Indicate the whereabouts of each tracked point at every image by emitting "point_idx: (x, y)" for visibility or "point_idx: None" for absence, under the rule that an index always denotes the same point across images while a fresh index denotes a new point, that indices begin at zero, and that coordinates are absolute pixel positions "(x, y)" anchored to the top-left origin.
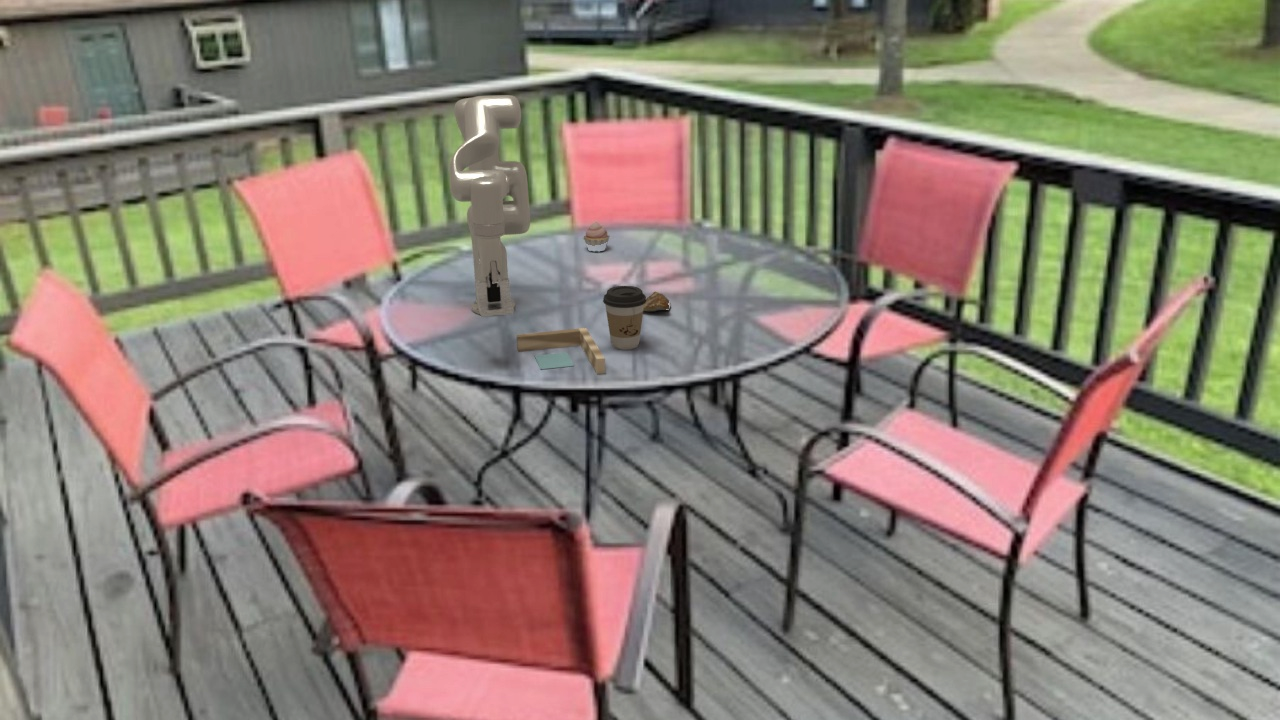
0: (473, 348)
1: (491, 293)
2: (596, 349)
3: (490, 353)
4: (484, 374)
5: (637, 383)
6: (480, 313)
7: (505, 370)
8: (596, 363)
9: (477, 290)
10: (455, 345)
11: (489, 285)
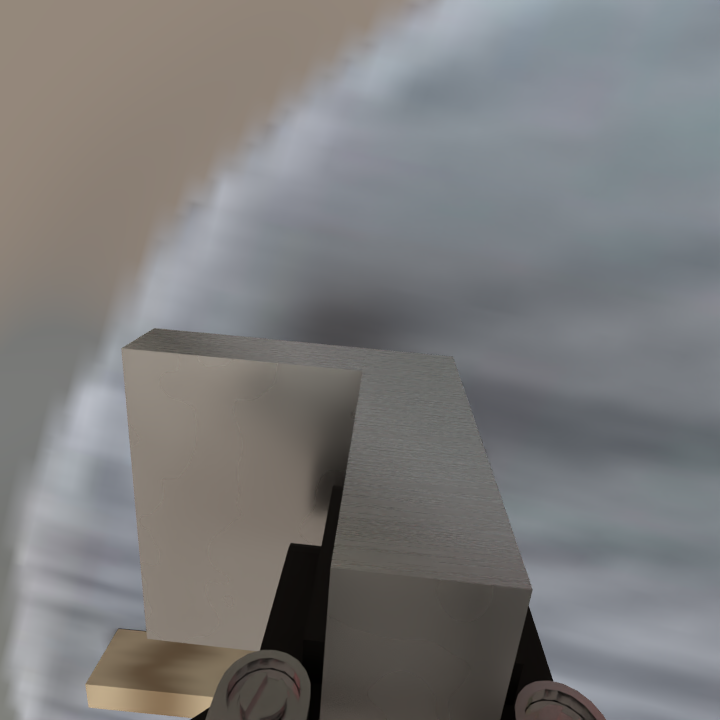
0: (589, 252)
1: (275, 602)
2: (188, 709)
3: (480, 320)
4: (224, 235)
5: (19, 700)
6: (217, 338)
7: None
8: (107, 664)
9: (357, 465)
10: (687, 162)
11: (210, 714)
